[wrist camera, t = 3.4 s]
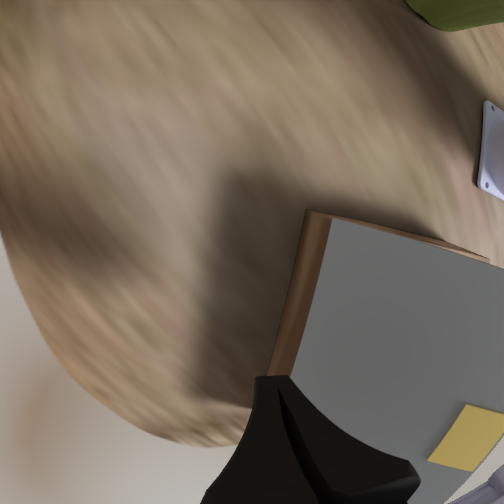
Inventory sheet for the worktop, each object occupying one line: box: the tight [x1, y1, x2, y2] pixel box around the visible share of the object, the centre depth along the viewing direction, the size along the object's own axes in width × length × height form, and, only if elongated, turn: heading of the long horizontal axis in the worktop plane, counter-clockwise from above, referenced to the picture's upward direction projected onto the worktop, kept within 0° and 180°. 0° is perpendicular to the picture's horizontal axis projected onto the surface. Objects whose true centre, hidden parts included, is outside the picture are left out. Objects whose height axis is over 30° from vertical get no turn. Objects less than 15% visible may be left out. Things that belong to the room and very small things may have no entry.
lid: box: [290, 218, 504, 504], centre depth 12 cm, size 12×16×1 cm
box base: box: [267, 209, 491, 377], centre depth 18 cm, size 12×16×5 cm
